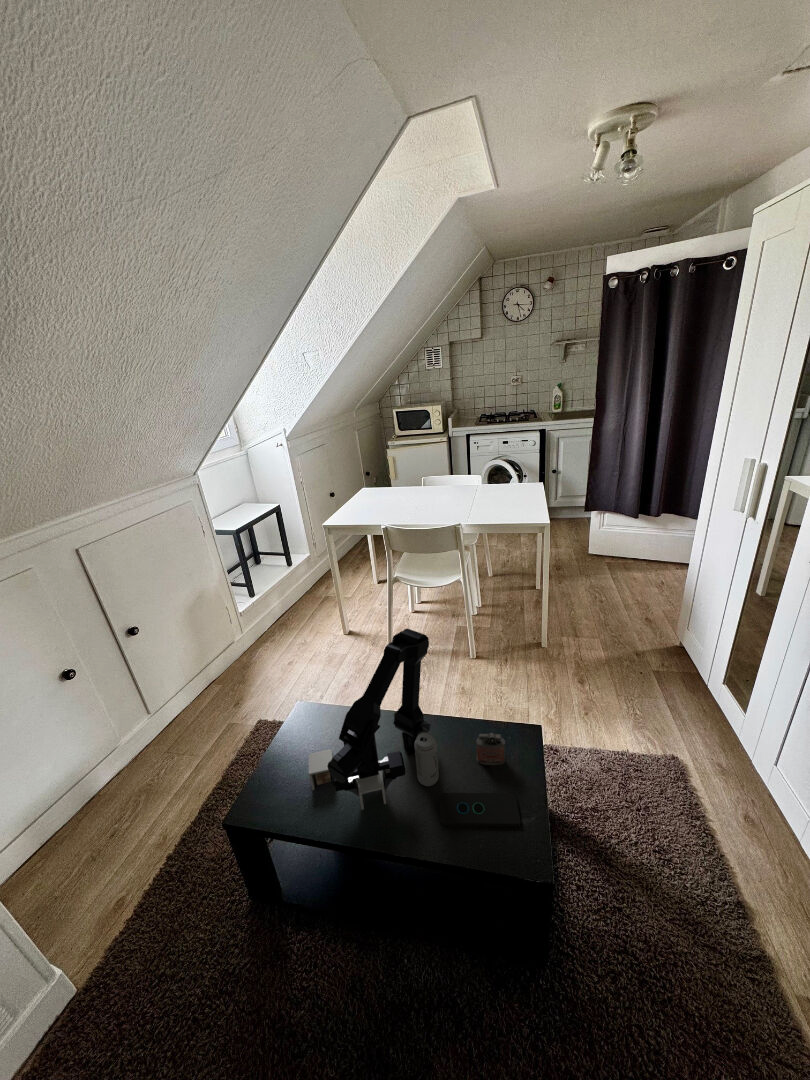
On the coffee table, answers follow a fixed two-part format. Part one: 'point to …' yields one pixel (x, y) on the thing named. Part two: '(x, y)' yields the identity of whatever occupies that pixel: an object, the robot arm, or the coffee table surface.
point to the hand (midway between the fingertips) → (372, 792)
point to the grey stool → (370, 786)
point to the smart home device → (479, 809)
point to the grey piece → (318, 764)
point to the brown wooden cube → (323, 777)
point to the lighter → (490, 749)
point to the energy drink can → (426, 759)
